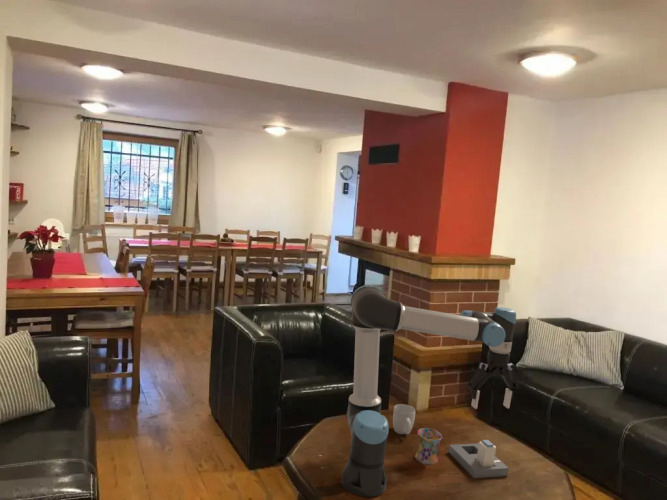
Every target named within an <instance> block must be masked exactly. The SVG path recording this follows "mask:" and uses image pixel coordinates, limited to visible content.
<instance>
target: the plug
mask: <svg viewBox="0 0 667 500" xmlns="http://www.w3.org/2000/svg"><path fill="white" fill-rule="evenodd" d="M478 443H479V446H478V453H477V459H476V461H477V462H478V463H479V464H480V465H481V466H482V467H493V466H494V459H495V456H496V452H497V446H496V445H495V444H494V443H492V442H491V441H490V440H489V439H482V441H479V442H478Z"/></svg>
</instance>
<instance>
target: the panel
mask: <svg viewBox="0 0 667 500" xmlns="http://www.w3.org/2000/svg"><path fill="white" fill-rule="evenodd" d="M478 446H479V442H477V443H461V444H449V448H448V453H449V455H451V456H452V457H453V458H454V460H456V461H457V463H458V464H459V465H460V466H461V467H463V469H465V471H466V472H467V473H469V475H470V476H471V477H472V478H473V479H482V478H496V477H497V478H499V477H508V474H509V470H510V469H509V468H510V467H508V466H507V465H506V464H505V463H504V462H503V461H502V460H500V459H499V458H498V457H497V456H496V455H495V459H494V466H493V467H482V466H481V465H480V464H479V463H478V462H477V461H476V459H477V453H478Z"/></svg>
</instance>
